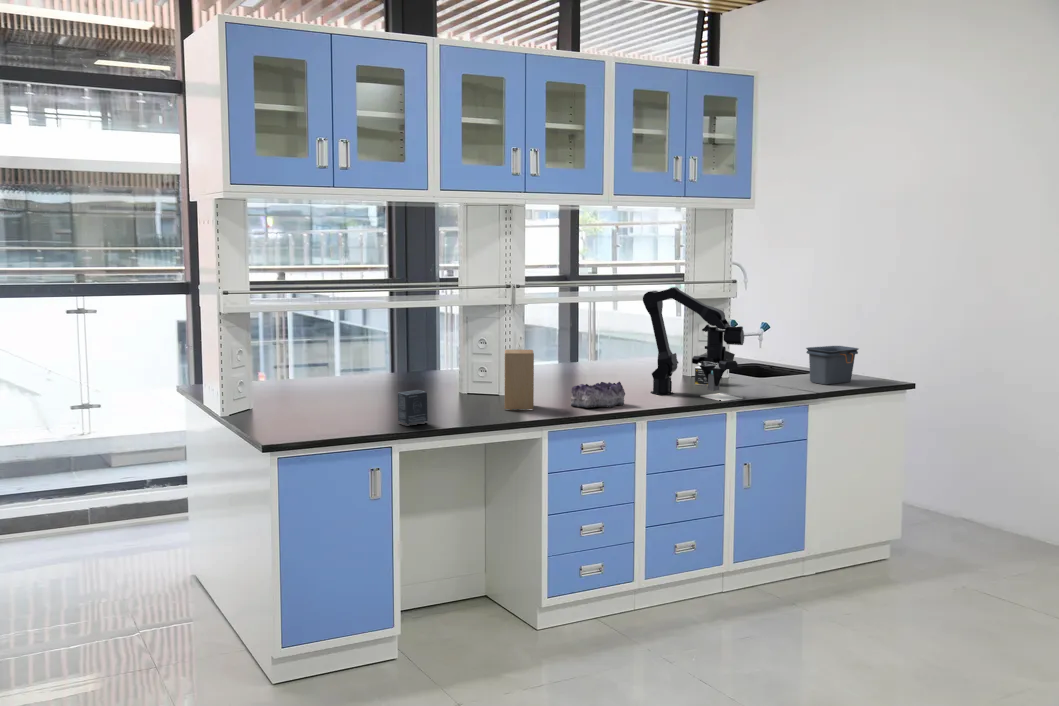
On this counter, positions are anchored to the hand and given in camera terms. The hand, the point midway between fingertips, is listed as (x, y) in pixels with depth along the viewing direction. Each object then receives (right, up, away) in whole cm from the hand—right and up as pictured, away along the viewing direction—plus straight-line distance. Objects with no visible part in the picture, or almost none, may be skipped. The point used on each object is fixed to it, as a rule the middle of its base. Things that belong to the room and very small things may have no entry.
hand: (713, 385), depth 362 cm
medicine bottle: (+3, -1, +32) cm, 32 cm away
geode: (-44, -7, -16) cm, 47 cm away
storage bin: (+56, 0, +38) cm, 68 cm away
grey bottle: (0, -2, 0) cm, 2 cm away
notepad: (+4, -5, +2) cm, 6 cm away
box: (-106, -11, -50) cm, 118 cm away
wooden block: (-72, -7, -21) cm, 76 cm away
